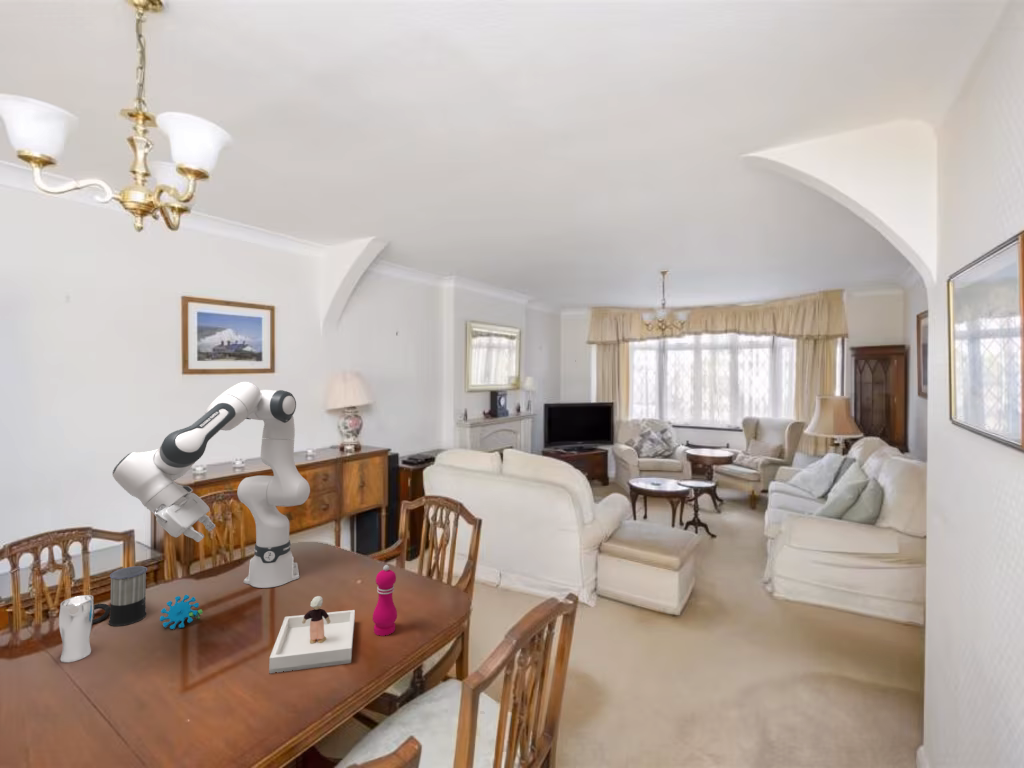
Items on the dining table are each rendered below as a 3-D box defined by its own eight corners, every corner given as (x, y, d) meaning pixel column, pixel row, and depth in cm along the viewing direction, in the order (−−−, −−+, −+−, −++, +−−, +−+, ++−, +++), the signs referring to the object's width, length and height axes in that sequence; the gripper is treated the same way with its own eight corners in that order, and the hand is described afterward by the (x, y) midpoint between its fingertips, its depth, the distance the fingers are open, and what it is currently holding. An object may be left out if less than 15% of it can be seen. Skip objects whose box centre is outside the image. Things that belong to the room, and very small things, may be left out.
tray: (284, 630, 144) (285, 616, 144) (354, 622, 149) (354, 609, 149) (269, 673, 123) (269, 658, 123) (350, 663, 128) (351, 648, 128)
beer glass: (65, 651, 130) (66, 596, 130) (97, 646, 132) (98, 592, 132) (52, 666, 123) (54, 608, 123) (86, 660, 126) (88, 603, 126)
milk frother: (148, 619, 148) (150, 572, 147) (80, 638, 136) (81, 586, 136) (141, 603, 158) (142, 559, 158) (77, 619, 146) (78, 571, 146)
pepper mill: (367, 630, 145) (369, 564, 145) (388, 622, 150) (389, 558, 150) (380, 639, 140) (382, 571, 140) (401, 630, 145) (403, 565, 145)
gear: (152, 626, 140) (169, 592, 148) (157, 633, 144) (173, 599, 152) (192, 629, 142) (207, 595, 149) (197, 636, 146) (211, 602, 153)
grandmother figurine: (330, 635, 140) (331, 592, 140) (329, 642, 136) (331, 598, 136) (301, 639, 137) (302, 595, 137) (300, 646, 134) (301, 601, 133)
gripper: (161, 502, 123) (203, 537, 126) (191, 484, 143) (227, 515, 145) (141, 520, 122) (184, 555, 124) (173, 500, 141) (210, 531, 144)
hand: (207, 533), depth 135 cm, fingers open, 8 cm apart
